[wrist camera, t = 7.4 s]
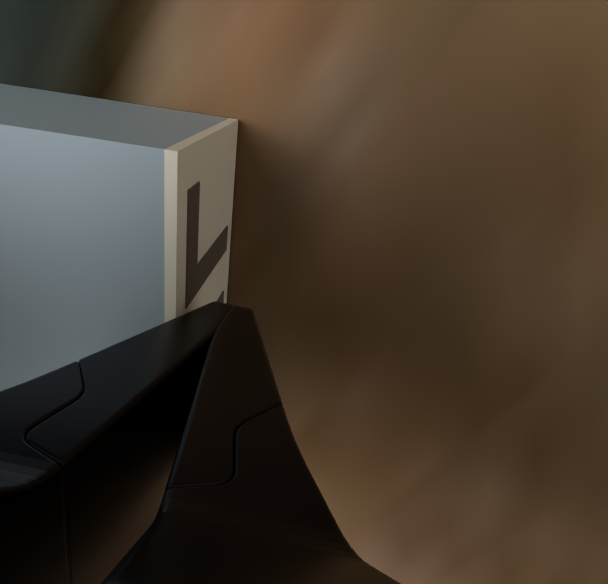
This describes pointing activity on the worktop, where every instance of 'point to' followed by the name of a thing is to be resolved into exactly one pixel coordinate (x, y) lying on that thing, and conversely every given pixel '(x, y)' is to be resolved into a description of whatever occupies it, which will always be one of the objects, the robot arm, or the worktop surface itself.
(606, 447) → the worktop surface
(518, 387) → the worktop surface
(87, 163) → the light blue box
